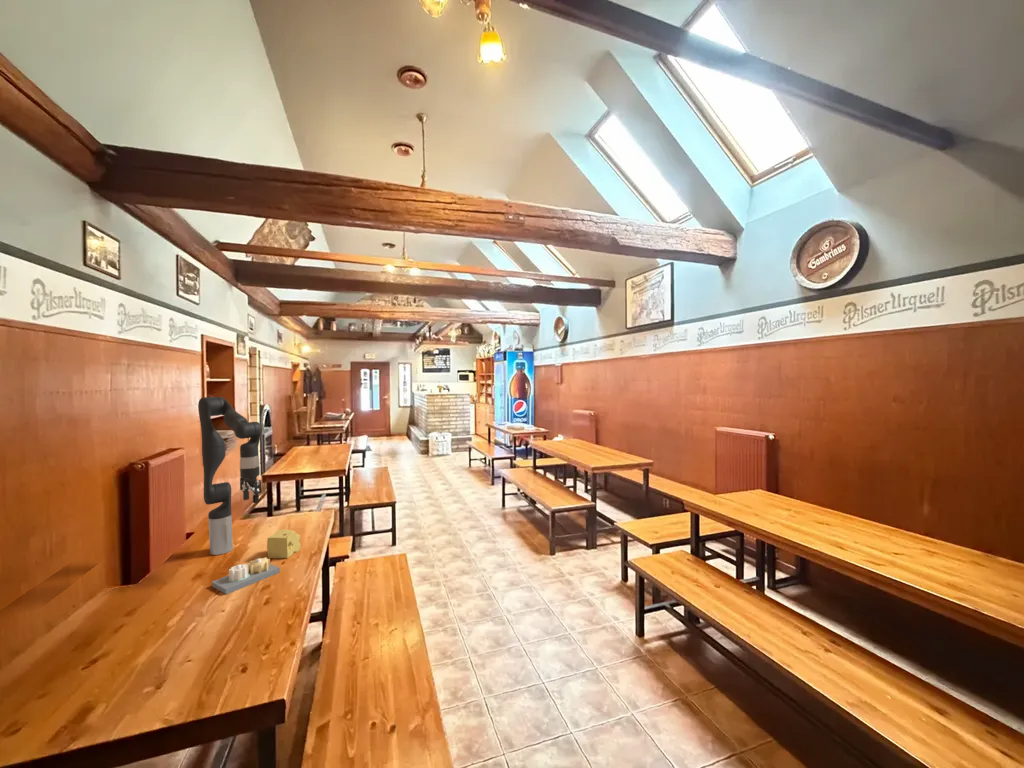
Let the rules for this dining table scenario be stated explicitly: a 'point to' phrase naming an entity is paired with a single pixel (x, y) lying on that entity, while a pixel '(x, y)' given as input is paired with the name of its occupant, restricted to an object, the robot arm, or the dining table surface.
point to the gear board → (256, 572)
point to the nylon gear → (238, 572)
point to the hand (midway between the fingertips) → (251, 501)
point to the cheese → (283, 544)
